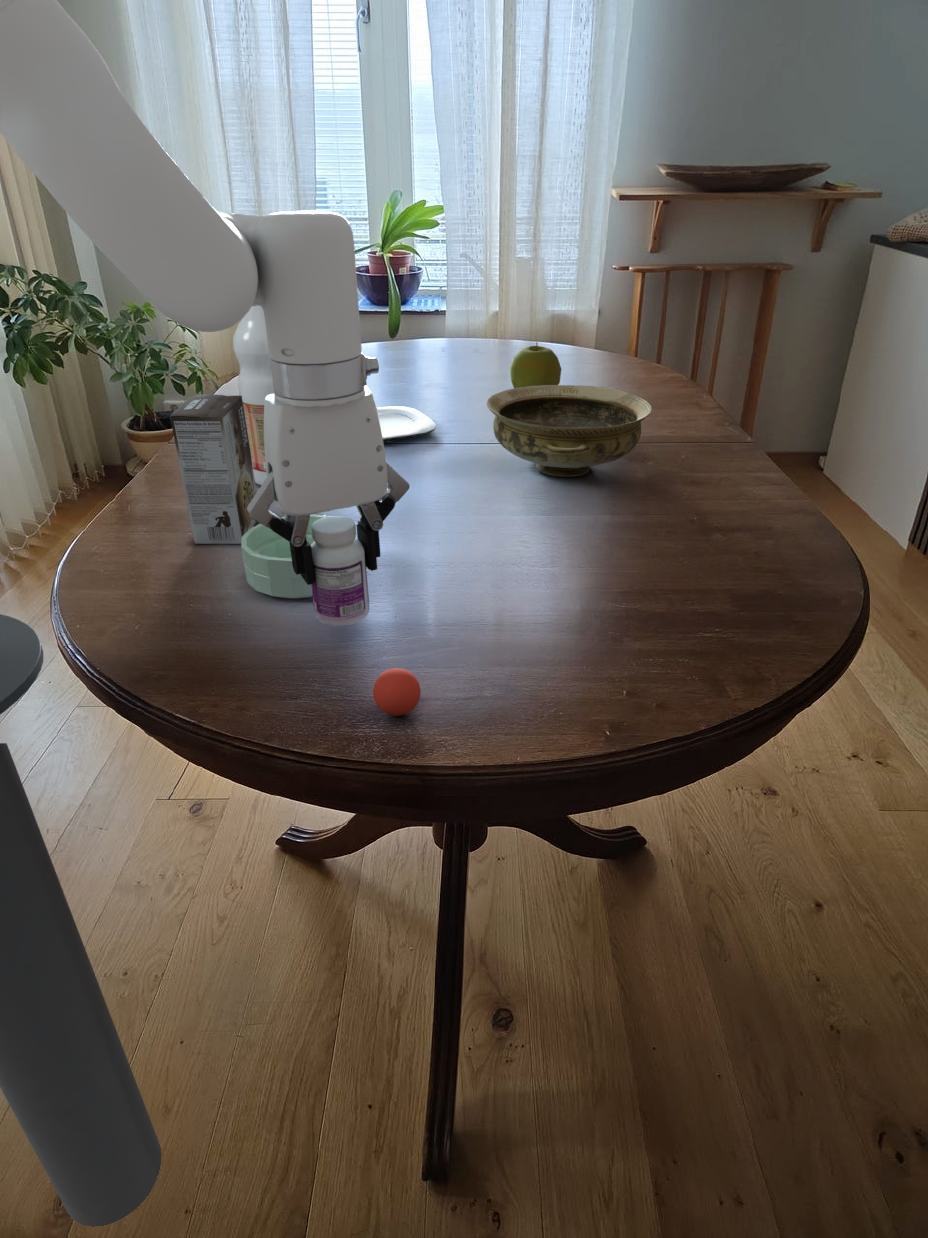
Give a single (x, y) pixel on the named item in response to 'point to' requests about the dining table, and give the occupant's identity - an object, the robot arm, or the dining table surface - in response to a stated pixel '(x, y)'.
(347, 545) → the pill bottle
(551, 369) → the apple
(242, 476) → the grey cardboard box
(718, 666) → the dining table surface
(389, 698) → the rubber ball
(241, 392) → the fruit juice
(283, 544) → the celadon bowl
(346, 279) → the robot arm
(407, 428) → the plate
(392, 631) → the dining table surface
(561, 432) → the ceramic bowl
